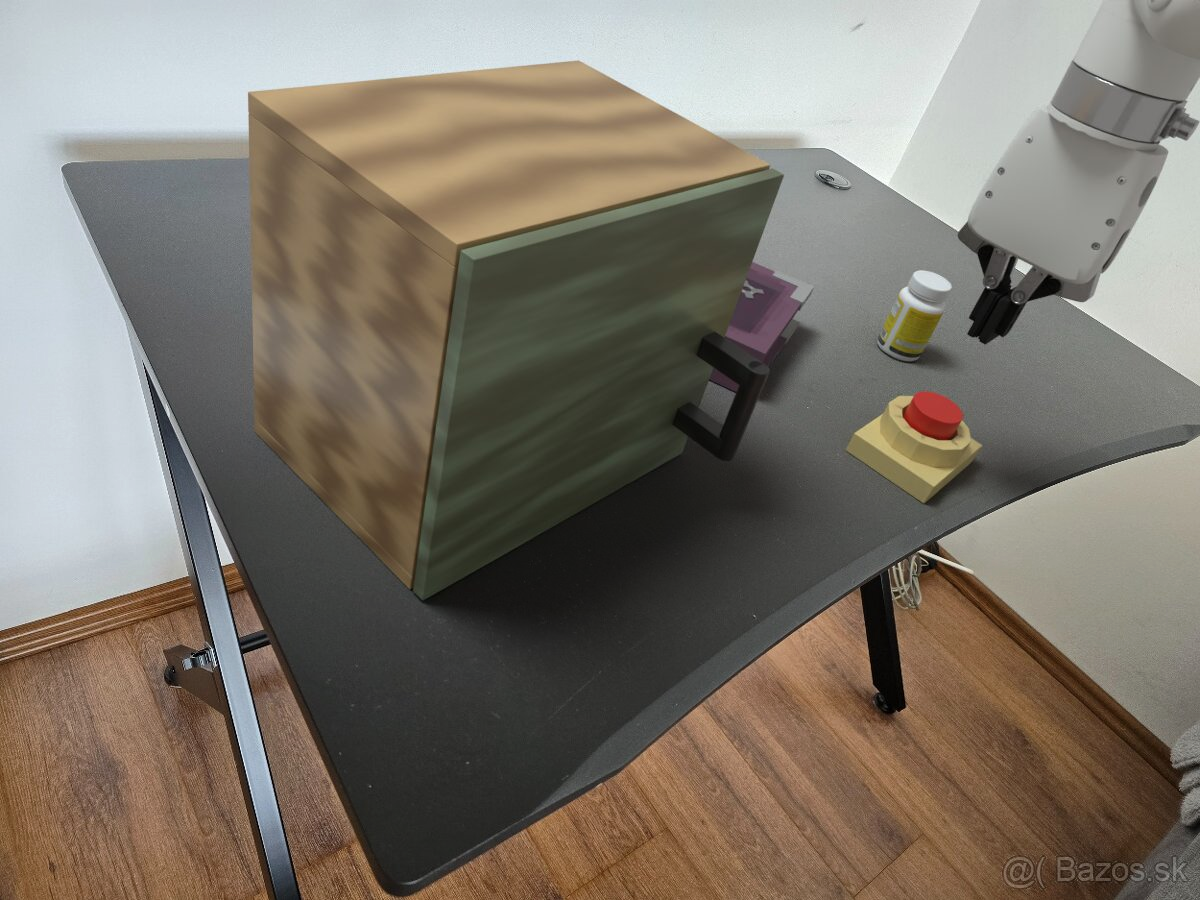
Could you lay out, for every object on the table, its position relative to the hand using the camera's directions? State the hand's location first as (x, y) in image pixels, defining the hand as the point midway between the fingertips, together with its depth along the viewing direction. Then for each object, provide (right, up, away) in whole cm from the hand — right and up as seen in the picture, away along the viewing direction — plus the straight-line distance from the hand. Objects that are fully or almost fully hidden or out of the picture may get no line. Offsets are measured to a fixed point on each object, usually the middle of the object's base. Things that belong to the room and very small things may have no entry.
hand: (983, 335), depth 73 cm
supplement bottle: (+1, +1, +24) cm, 24 cm away
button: (-2, -7, +7) cm, 10 cm away
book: (-25, +5, +19) cm, 32 cm away
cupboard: (-40, -8, -3) cm, 41 cm away
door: (-31, -15, -8) cm, 36 cm away
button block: (-3, -10, +9) cm, 13 cm away
